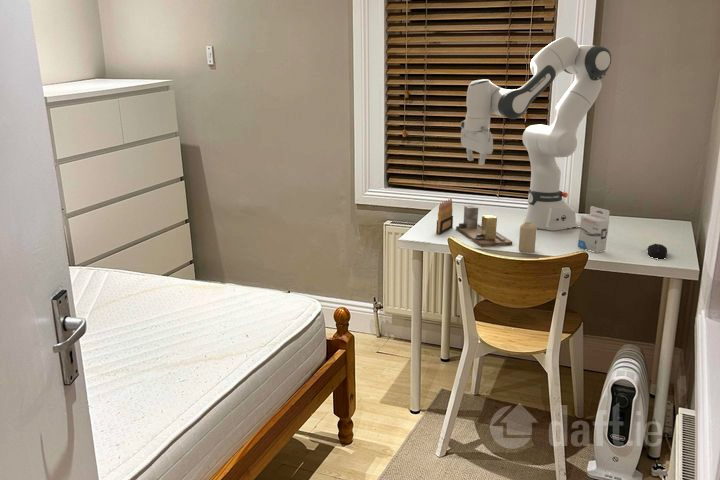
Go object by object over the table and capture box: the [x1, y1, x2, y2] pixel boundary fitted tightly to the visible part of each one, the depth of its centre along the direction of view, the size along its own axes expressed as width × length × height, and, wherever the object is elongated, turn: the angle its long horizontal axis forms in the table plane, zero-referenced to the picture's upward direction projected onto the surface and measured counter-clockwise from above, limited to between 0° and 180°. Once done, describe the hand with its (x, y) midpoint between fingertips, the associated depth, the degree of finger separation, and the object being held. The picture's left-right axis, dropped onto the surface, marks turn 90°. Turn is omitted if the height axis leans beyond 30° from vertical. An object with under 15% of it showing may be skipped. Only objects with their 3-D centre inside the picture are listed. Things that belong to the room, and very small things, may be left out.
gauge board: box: [455, 205, 513, 248], centre depth 255 cm, size 12×24×9 cm, turn 14°
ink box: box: [577, 205, 610, 254], centre depth 240 cm, size 9×5×15 cm, turn 33°
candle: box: [518, 222, 538, 253], centre depth 239 cm, size 6×6×10 cm
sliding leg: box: [476, 214, 498, 240], centre depth 248 cm, size 6×4×8 cm, turn 104°
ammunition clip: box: [435, 198, 454, 235], centre depth 262 cm, size 11×2×12 cm, turn 147°
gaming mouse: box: [646, 243, 668, 260], centre depth 235 cm, size 6×15×4 cm, turn 159°
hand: (475, 162), depth 255 cm, fingers open, 8 cm apart
